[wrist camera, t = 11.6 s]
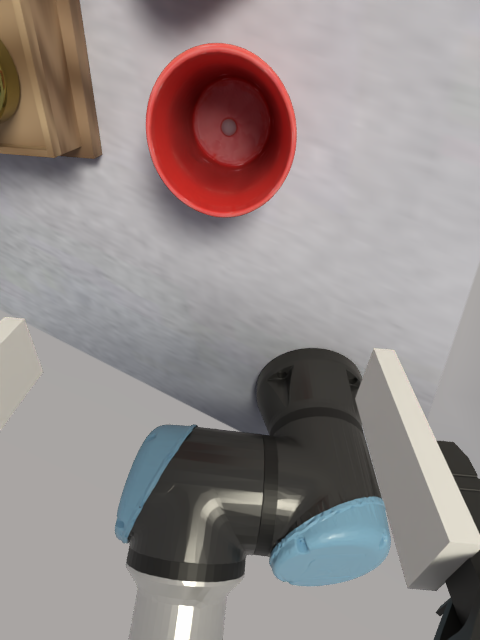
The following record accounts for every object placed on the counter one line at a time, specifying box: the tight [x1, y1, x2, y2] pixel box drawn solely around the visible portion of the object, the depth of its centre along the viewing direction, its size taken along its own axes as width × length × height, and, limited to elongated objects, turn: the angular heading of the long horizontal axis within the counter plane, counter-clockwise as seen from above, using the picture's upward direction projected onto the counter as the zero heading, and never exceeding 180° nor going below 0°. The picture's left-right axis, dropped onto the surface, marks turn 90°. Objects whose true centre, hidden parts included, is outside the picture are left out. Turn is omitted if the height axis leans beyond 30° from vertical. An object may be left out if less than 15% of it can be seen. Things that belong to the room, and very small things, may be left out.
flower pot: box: [146, 43, 297, 217], centre depth 29 cm, size 11×11×10 cm
